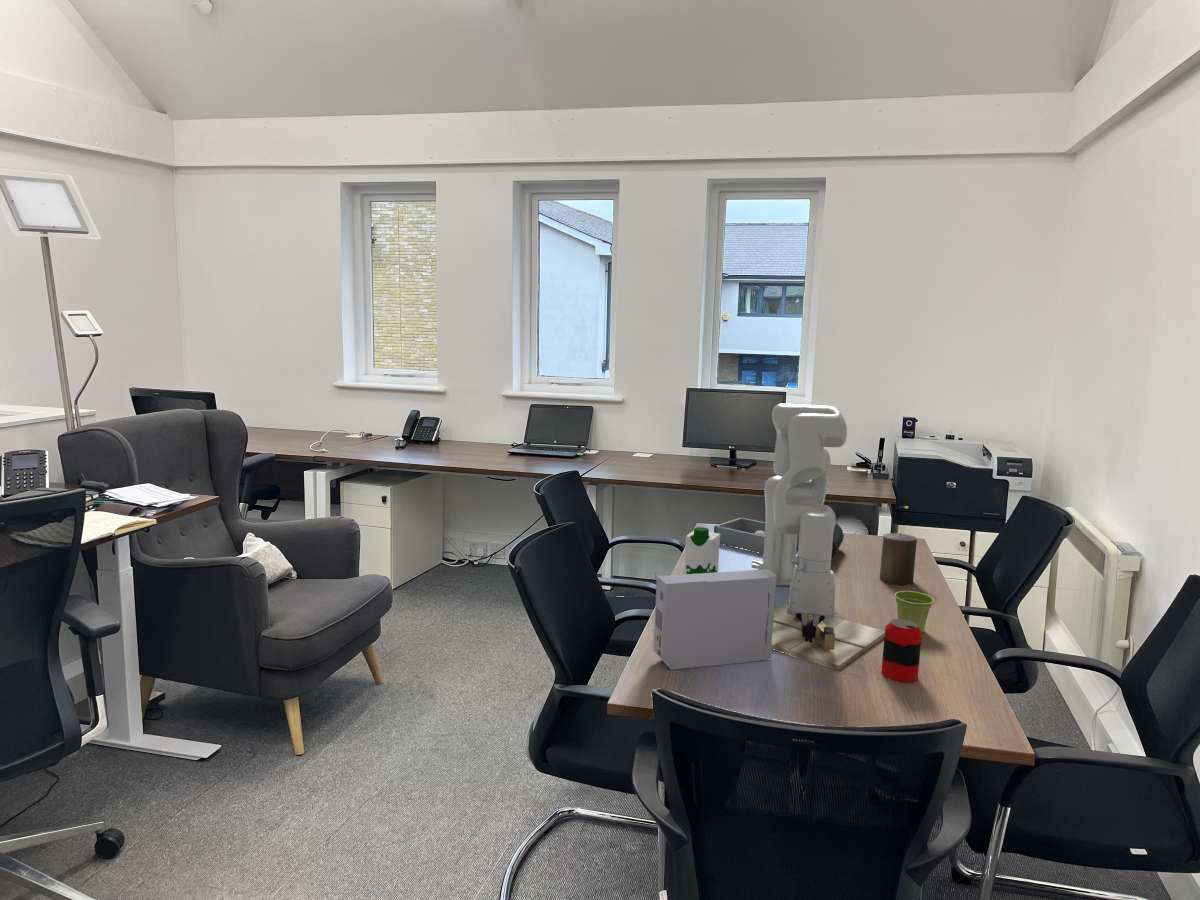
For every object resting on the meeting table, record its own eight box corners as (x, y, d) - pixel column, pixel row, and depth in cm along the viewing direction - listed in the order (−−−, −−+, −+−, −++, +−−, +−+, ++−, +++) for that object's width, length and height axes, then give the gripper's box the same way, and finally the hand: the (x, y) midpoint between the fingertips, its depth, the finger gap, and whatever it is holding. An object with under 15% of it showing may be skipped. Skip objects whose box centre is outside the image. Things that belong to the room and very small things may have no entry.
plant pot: (929, 626, 210) (933, 593, 209) (931, 639, 202) (935, 605, 200) (891, 620, 213) (894, 588, 212) (891, 633, 205) (894, 600, 203)
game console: (774, 660, 186) (780, 576, 182) (662, 671, 178) (666, 584, 175) (762, 650, 191) (767, 568, 188) (652, 661, 183) (656, 575, 180)
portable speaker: (813, 545, 284) (816, 517, 283) (843, 549, 281) (845, 521, 279) (802, 564, 261) (804, 534, 260) (833, 569, 257) (836, 538, 256)
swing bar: (798, 625, 202) (799, 606, 201) (814, 625, 203) (815, 606, 202) (820, 649, 187) (822, 630, 187) (837, 649, 188) (839, 629, 187)
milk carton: (679, 599, 224) (683, 528, 221) (690, 589, 233) (693, 521, 229) (710, 604, 221) (714, 533, 218) (720, 595, 229) (724, 525, 226)
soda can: (898, 685, 175) (903, 632, 173) (873, 671, 182) (878, 619, 180) (925, 680, 178) (930, 627, 176) (899, 666, 185) (904, 615, 183)
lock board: (729, 636, 199) (730, 620, 198) (783, 607, 220) (784, 593, 220) (838, 670, 181) (839, 653, 181) (886, 635, 203) (887, 620, 202)
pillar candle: (913, 587, 241) (918, 538, 239) (879, 582, 244) (883, 534, 242) (912, 578, 251) (917, 530, 248) (878, 574, 254) (883, 527, 251)
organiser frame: (713, 542, 283) (714, 526, 282) (739, 533, 297) (740, 517, 296) (775, 557, 268) (776, 539, 267) (800, 546, 282) (801, 529, 281)
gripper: (781, 566, 186) (776, 642, 189) (849, 571, 183) (842, 649, 186) (780, 557, 194) (775, 631, 196) (845, 562, 191) (840, 637, 193)
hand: (808, 640), depth 191 cm, fingers closed
